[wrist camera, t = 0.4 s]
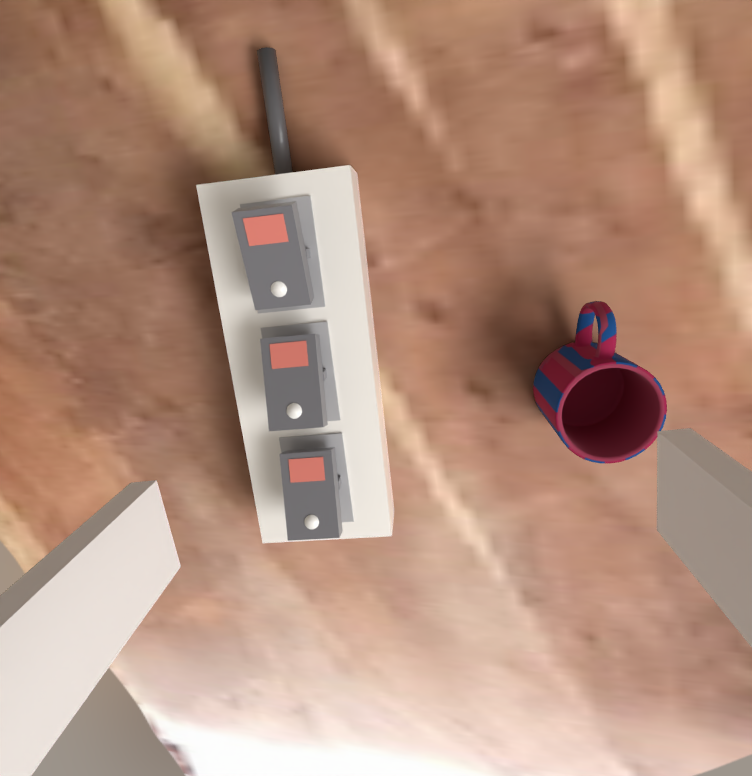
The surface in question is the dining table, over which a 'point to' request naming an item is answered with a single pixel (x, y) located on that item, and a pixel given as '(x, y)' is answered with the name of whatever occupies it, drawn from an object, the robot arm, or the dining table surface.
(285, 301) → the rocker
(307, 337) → the rocker mid
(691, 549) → the robot arm
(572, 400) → the mug
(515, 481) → the dining table surface
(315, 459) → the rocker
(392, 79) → the dining table surface
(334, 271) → the strip
